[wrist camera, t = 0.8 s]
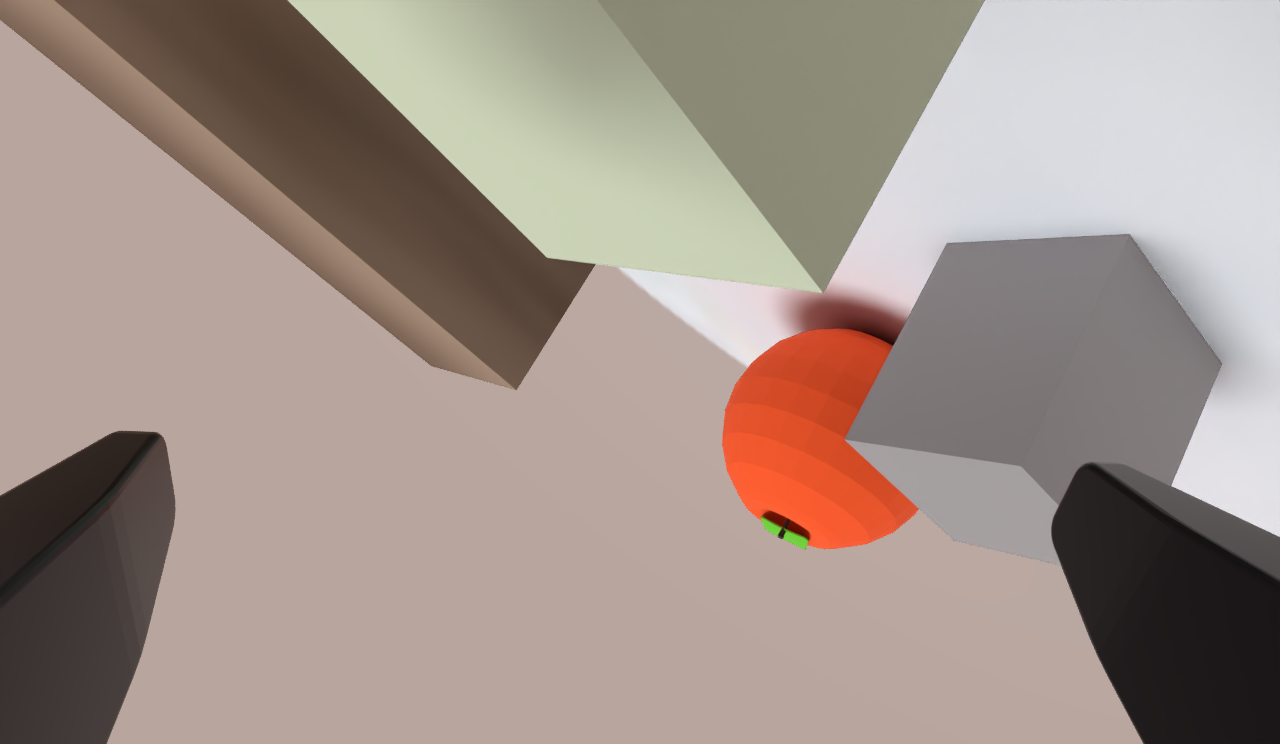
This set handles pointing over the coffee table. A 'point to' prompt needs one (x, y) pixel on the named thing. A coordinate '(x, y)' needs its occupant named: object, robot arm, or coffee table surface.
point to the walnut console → (318, 168)
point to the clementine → (811, 442)
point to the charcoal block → (1032, 384)
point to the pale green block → (664, 117)
